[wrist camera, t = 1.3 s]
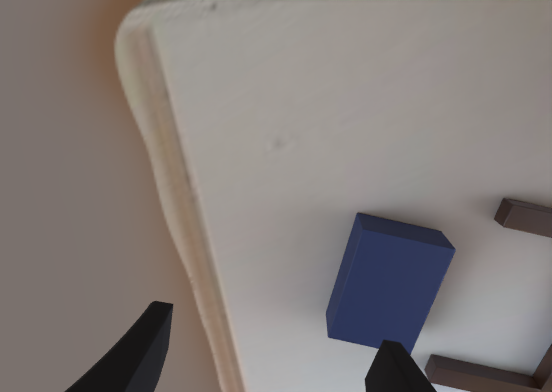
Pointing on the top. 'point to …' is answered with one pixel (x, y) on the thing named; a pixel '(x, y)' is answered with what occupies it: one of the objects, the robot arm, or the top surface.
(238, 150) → the top surface
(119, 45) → the top surface
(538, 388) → the bay
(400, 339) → the tea packet
